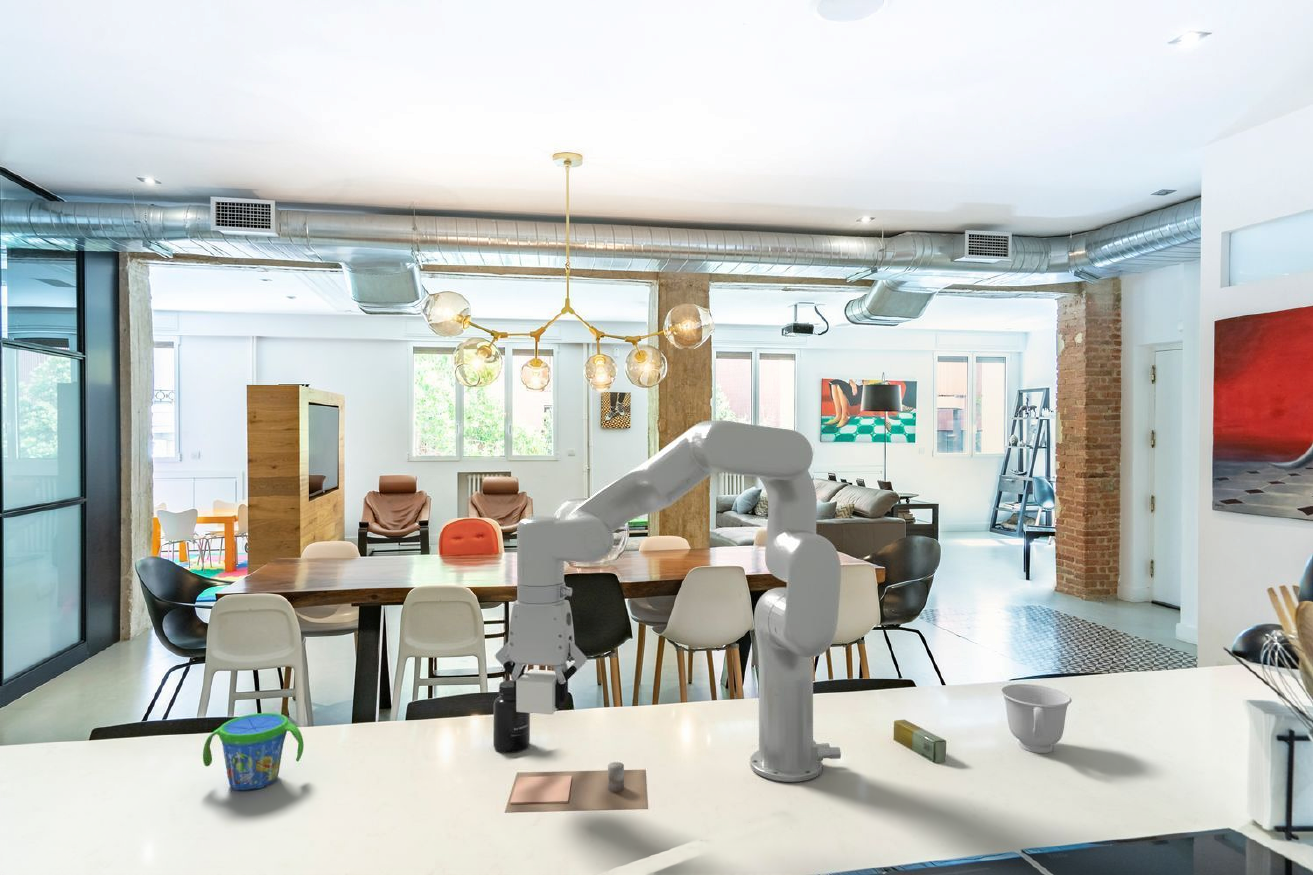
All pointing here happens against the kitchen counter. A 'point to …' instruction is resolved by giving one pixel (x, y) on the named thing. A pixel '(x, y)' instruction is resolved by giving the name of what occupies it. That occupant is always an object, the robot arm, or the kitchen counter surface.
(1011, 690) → the teacup
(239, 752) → the snack cup
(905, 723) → the medication box
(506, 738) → the supplement bottle
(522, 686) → the matte white cube
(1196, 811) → the kitchen counter surface
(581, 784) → the post board
